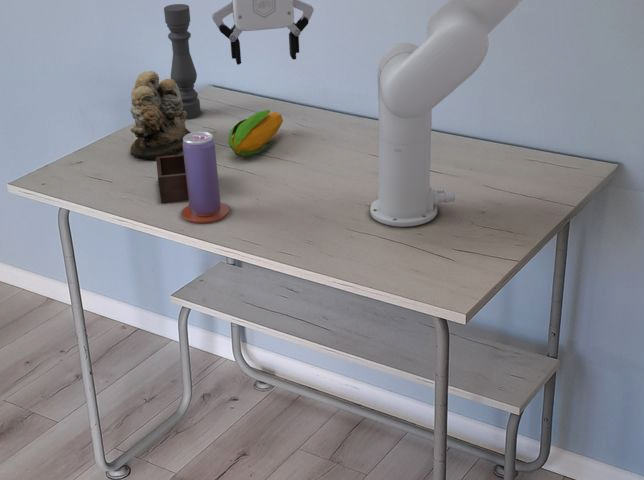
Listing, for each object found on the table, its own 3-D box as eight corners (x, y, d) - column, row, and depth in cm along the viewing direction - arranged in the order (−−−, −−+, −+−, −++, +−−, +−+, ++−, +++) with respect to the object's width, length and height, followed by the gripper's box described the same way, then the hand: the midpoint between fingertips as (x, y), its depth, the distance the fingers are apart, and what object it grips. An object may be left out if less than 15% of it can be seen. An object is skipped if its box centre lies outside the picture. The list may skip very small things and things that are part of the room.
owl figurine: (163, 166, 218) (153, 87, 209) (116, 159, 222) (105, 82, 213) (204, 135, 231) (197, 61, 222) (159, 129, 236) (150, 56, 226)
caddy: (210, 176, 212) (207, 151, 209) (214, 197, 204) (211, 171, 201) (159, 181, 211) (155, 156, 208) (161, 203, 202) (157, 177, 199)
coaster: (226, 201, 202) (226, 198, 202) (230, 220, 194) (230, 218, 194) (180, 205, 201) (180, 203, 201) (183, 225, 194) (183, 223, 193)
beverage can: (216, 218, 194) (209, 143, 186) (186, 216, 196) (177, 142, 187) (224, 204, 199) (217, 131, 191) (195, 203, 200) (187, 130, 192)
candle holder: (171, 118, 241) (159, 11, 228) (178, 109, 246) (166, 3, 233) (197, 119, 240) (186, 11, 227) (203, 110, 245) (193, 3, 232)
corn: (218, 126, 215) (264, 95, 229) (219, 159, 219) (264, 127, 234) (249, 133, 212) (293, 101, 227) (249, 167, 216) (293, 133, 231)
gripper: (209, -34, 165) (218, 71, 174) (314, -43, 167) (318, 61, 176) (205, -44, 171) (214, 57, 181) (307, -52, 173) (311, 49, 182)
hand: (265, 59), depth 178 cm, fingers open, 9 cm apart
